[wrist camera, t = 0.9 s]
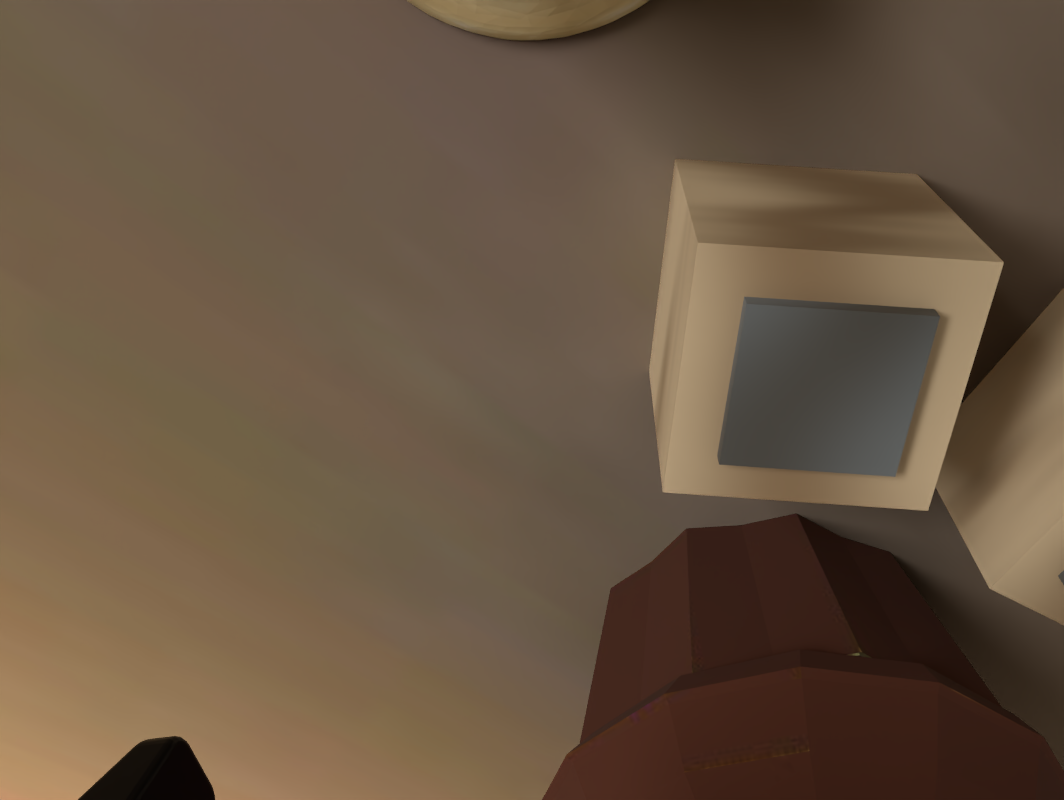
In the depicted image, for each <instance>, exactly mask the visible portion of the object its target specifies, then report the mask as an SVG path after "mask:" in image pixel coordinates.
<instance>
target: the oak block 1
mask: <svg viewBox="0 0 1064 800" xmlns="http://www.w3.org/2000/svg"><path fill="white" fill-rule="evenodd" d="M1003 264H1004V262H1003V261H1002V260H1001V259H1000V258H999V257H998V256H997V255H996V254H995V253H994V252H993V251H992V250H991V249H990V248H989V247H988V246H987V245H986V244H985V243H984V242H983V241H982V240H981V239H980V238H979V237H978V236H977V235H976V234H975V233H974V232H973V231H972V230H971V229H970V228H969V226H968V225H967V224H966V223H965V222H964V221H963V220H962V219H961V218H960V217H959V216H958V215H957V214H956V213H955V212H954V211H953V210H952V209H951V208H950V207H949V206H948V205H947V204H946V203H945V202H944V201H943V200H942V199H941V198H940V197H939V196H938V195H937V194H936V193H935V192H934V191H933V190H932V189H931V188H930V187H929V186H928V185H927V184H926V183H925V182H924V181H923V180H922V179H921V178H920V177H919V176H918V175H917V174H906V173H890V172H874V171H858V170H842V169H827V168H811V167H795V166H779V165H763V164H748V163H732V162H716V161H700V160H685V159H675V165H674V173H673V181H672V189H671V197H670V205H669V214H668V222H667V230H666V238H665V246H664V254H663V262H662V271H661V279H660V287H659V295H658V303H657V311H656V320H655V328H654V336H653V344H652V352H651V360H650V368H649V374H650V383H651V392H652V400H653V409H654V418H655V427H656V436H657V445H658V454H659V463H660V471H661V480H662V489H663V492H666V493H680V494H695V495H709V496H723V497H738V498H752V499H766V500H780V501H795V502H809V503H823V504H838V505H852V506H866V507H881V508H895V509H909V510H924V511H928V509H929V506H930V503H931V499H932V496H933V493H934V490H935V486H936V483H937V480H938V476H939V473H940V470H941V467H942V463H943V460H944V457H945V454H946V450H947V447H948V444H949V441H950V437H951V434H952V431H953V427H954V424H955V421H956V418H957V414H958V411H959V408H960V405H961V401H962V398H963V395H964V392H965V388H966V385H967V382H968V378H969V375H970V372H971V369H972V365H973V362H974V359H975V356H976V352H977V349H978V346H979V343H980V339H981V336H982V333H983V329H984V326H985V323H986V320H987V316H988V313H989V310H990V307H991V303H992V300H993V297H994V294H995V290H996V287H997V284H998V280H999V277H1000V274H1001V271H1002V267H1003Z"/></svg>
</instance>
